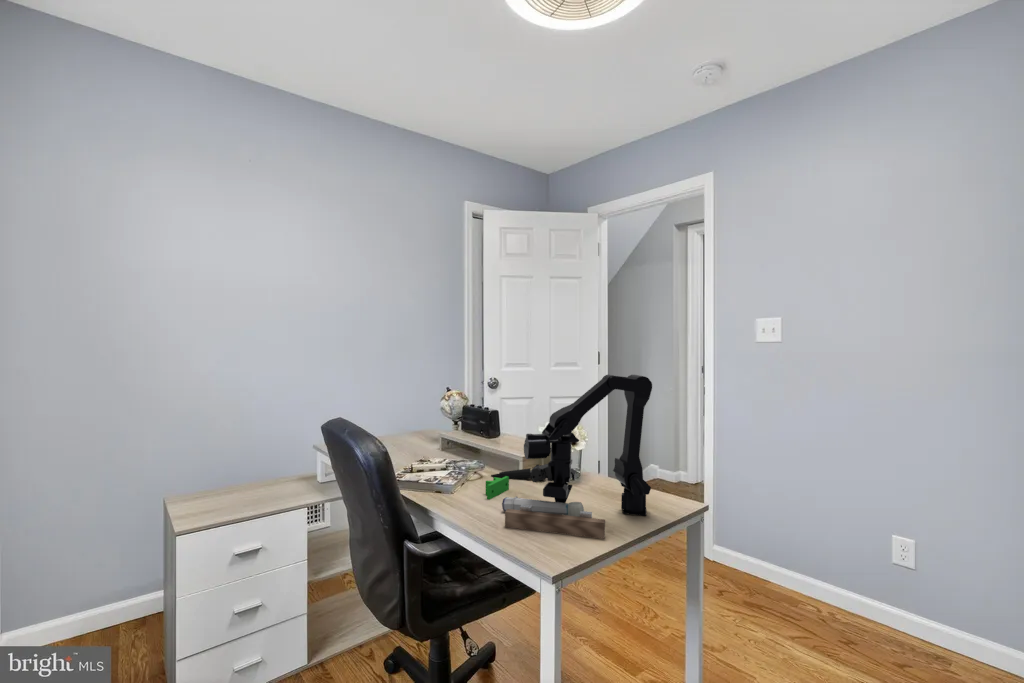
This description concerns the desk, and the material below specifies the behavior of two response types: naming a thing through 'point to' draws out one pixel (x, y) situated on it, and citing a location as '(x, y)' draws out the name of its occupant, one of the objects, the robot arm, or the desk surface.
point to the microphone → (515, 473)
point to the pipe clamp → (497, 486)
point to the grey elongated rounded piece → (544, 506)
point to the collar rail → (555, 522)
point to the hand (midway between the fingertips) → (559, 512)
